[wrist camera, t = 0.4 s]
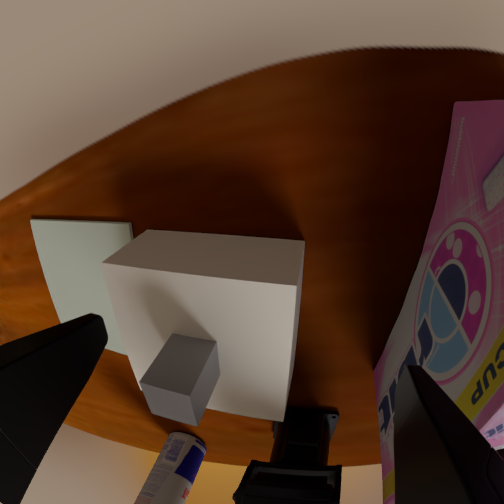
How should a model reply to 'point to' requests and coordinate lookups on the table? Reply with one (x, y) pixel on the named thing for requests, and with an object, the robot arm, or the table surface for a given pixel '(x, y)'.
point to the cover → (209, 320)
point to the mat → (81, 267)
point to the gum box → (456, 288)
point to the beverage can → (173, 471)
